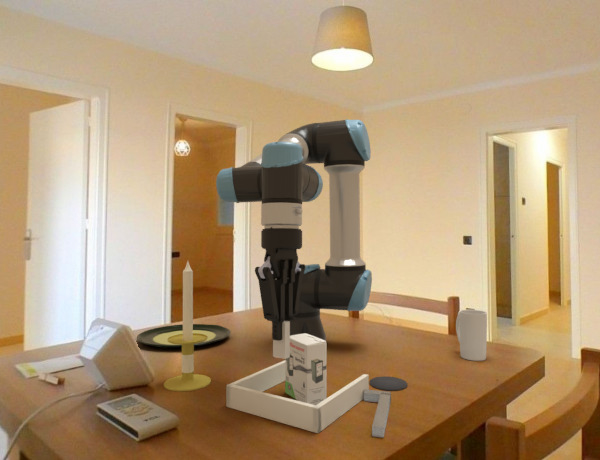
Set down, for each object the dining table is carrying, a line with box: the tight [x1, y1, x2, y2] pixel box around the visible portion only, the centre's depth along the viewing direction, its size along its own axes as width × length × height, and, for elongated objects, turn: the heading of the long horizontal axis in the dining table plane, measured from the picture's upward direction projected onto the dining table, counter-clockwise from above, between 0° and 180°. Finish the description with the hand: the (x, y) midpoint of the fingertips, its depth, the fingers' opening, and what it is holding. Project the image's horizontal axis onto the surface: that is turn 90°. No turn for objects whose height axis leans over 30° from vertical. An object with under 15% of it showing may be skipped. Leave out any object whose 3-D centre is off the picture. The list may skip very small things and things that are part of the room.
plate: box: [136, 323, 232, 349], centre depth 132 cm, size 28×28×2 cm
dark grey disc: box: [369, 376, 408, 392], centre depth 92 cm, size 8×8×1 cm
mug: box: [455, 309, 488, 362], centre depth 114 cm, size 10×7×12 cm, turn 17°
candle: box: [163, 261, 212, 392], centre depth 93 cm, size 10×10×27 cm
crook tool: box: [363, 389, 392, 439], centre depth 76 cm, size 5×16×2 cm, turn 164°
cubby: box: [225, 359, 370, 434], centre depth 83 cm, size 20×20×4 cm
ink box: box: [284, 333, 328, 405], centre depth 85 cm, size 9×5×12 cm, turn 31°
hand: (281, 356), depth 78 cm, fingers closed
